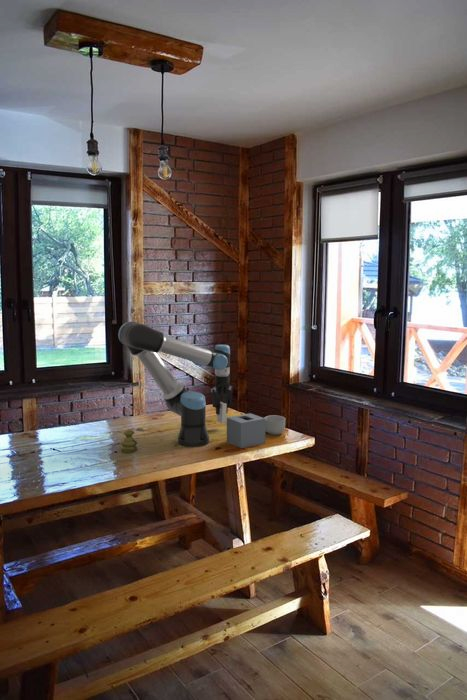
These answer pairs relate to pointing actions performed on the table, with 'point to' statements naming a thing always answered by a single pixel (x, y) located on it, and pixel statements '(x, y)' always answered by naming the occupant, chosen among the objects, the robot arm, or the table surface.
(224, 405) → the white rectangular bar
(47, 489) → the table surface
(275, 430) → the teacup
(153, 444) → the table surface
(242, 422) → the box
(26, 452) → the table surface
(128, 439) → the olive chess piece
